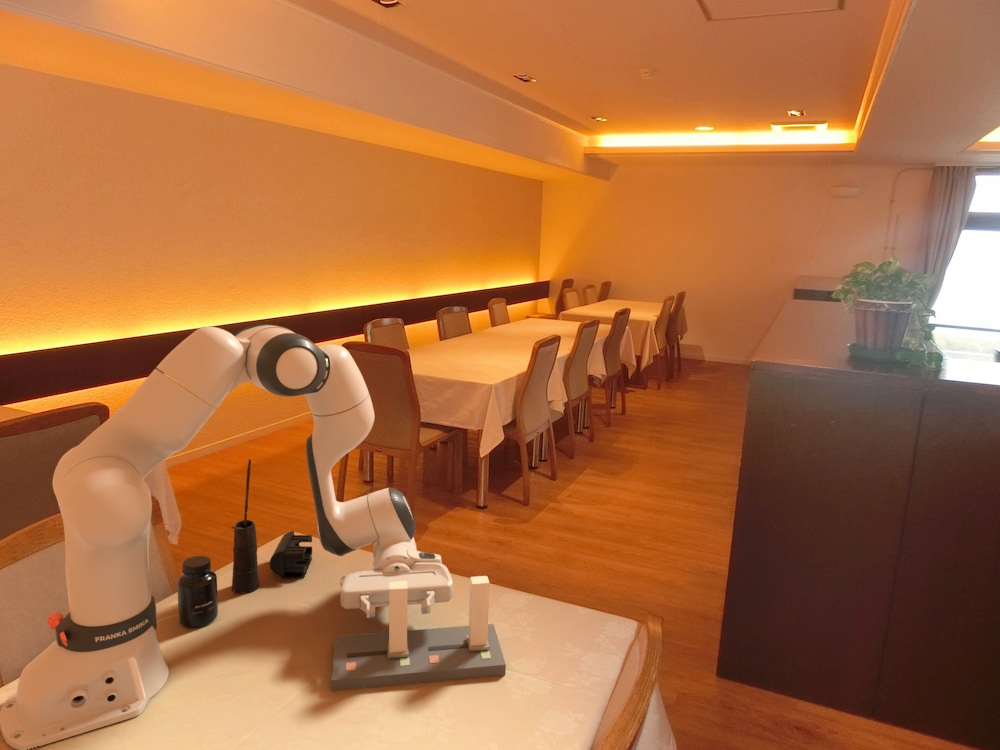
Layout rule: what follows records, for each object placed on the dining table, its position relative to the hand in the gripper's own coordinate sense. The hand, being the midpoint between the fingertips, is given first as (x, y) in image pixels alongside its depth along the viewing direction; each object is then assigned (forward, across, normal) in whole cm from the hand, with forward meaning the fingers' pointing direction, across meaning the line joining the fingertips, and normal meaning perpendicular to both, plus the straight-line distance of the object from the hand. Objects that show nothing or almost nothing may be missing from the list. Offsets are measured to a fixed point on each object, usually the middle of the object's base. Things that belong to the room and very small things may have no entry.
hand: (398, 612), depth 111 cm
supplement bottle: (-18, -37, +10) cm, 42 cm away
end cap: (-35, -22, +10) cm, 43 cm away
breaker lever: (0, +14, +7) cm, 16 cm away
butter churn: (-27, -31, +10) cm, 43 cm away
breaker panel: (0, +4, +10) cm, 10 cm away
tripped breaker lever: (0, 0, +7) cm, 7 cm away
